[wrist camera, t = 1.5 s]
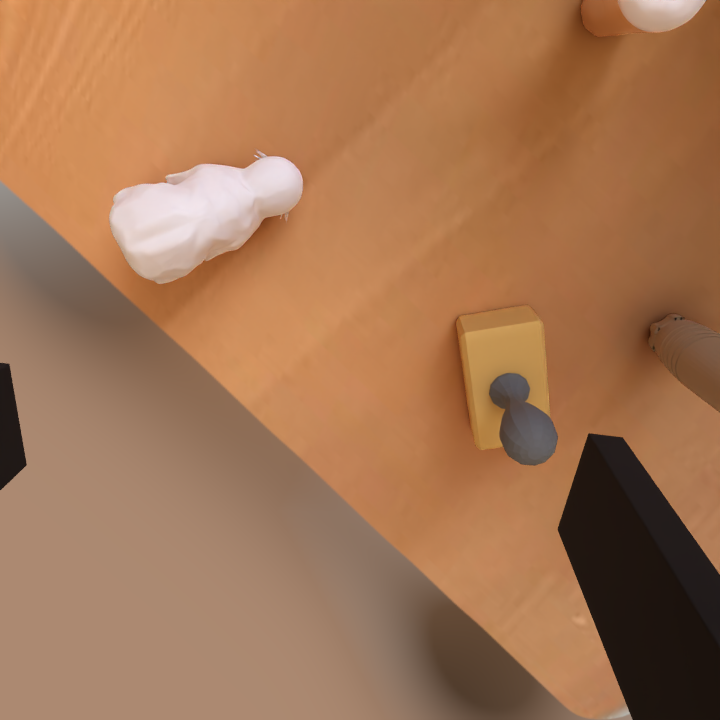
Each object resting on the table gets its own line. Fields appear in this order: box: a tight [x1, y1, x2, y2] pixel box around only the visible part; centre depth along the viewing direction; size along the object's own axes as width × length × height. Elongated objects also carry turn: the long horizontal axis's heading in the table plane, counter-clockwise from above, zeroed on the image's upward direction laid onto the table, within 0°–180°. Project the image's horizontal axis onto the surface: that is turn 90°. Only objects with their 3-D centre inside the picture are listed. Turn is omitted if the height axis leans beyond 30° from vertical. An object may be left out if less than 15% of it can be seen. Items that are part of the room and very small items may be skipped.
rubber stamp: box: [456, 305, 558, 465], centre depth 38 cm, size 10×6×12 cm, turn 11°
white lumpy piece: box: [109, 150, 303, 284], centre depth 36 cm, size 6×8×12 cm
